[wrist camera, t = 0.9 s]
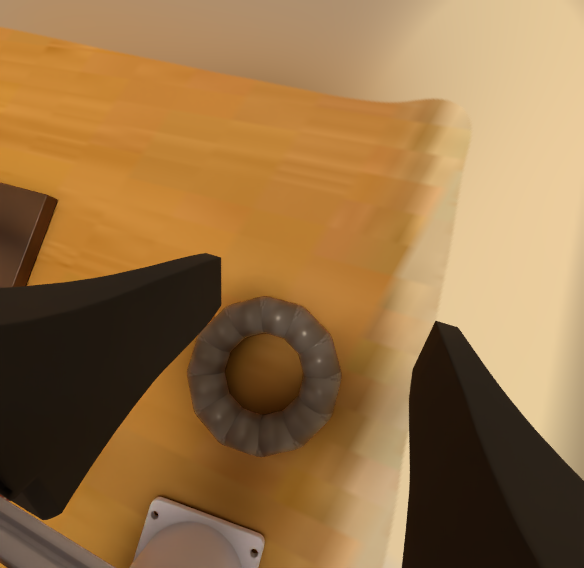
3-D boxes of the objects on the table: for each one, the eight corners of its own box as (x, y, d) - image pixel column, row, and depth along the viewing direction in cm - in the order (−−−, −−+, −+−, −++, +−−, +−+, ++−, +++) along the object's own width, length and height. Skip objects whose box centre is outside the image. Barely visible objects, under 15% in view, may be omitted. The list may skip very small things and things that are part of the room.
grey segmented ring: (316, 466, 20) (316, 485, 18) (179, 419, 22) (162, 431, 19) (354, 321, 21) (358, 320, 19) (221, 284, 23) (209, 279, 20)
